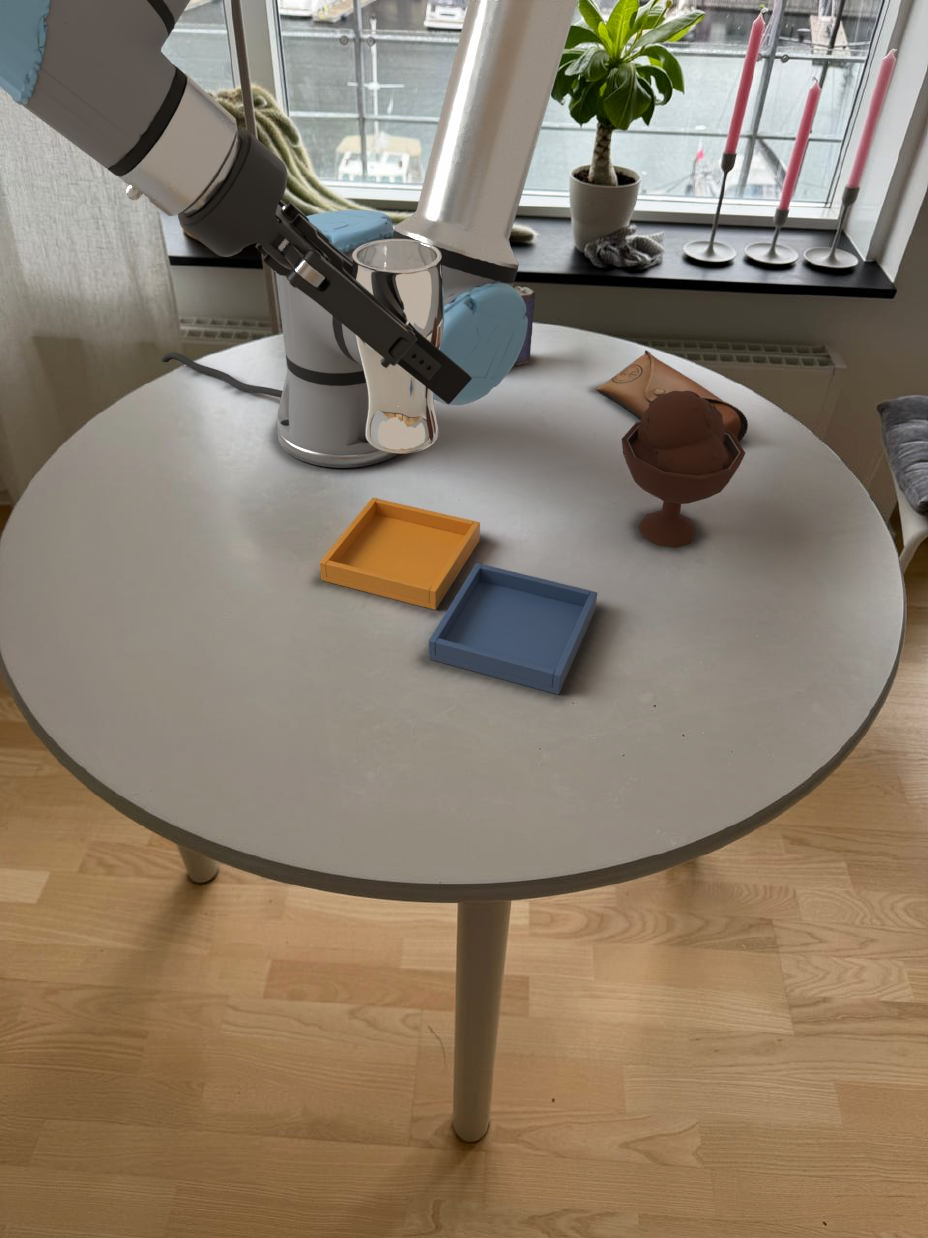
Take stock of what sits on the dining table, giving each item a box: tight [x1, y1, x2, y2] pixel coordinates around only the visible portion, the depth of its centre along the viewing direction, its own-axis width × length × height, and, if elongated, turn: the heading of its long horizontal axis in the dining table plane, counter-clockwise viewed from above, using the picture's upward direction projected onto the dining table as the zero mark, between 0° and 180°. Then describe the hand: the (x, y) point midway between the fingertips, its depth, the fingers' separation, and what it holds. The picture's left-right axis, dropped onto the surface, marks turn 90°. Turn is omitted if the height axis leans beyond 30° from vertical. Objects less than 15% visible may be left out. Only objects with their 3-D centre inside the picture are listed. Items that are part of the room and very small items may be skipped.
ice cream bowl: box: [621, 391, 746, 548], centre depth 89 cm, size 11×11×15 cm
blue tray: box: [428, 562, 598, 695], centre depth 82 cm, size 11×11×2 cm
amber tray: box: [319, 497, 481, 611], centre depth 89 cm, size 11×11×2 cm
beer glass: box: [352, 239, 444, 454], centre depth 75 cm, size 7×7×15 cm
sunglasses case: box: [595, 349, 749, 443], centre depth 111 cm, size 18×7×7 cm
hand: (442, 367), depth 78 cm, fingers closed on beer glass, 7 cm apart
